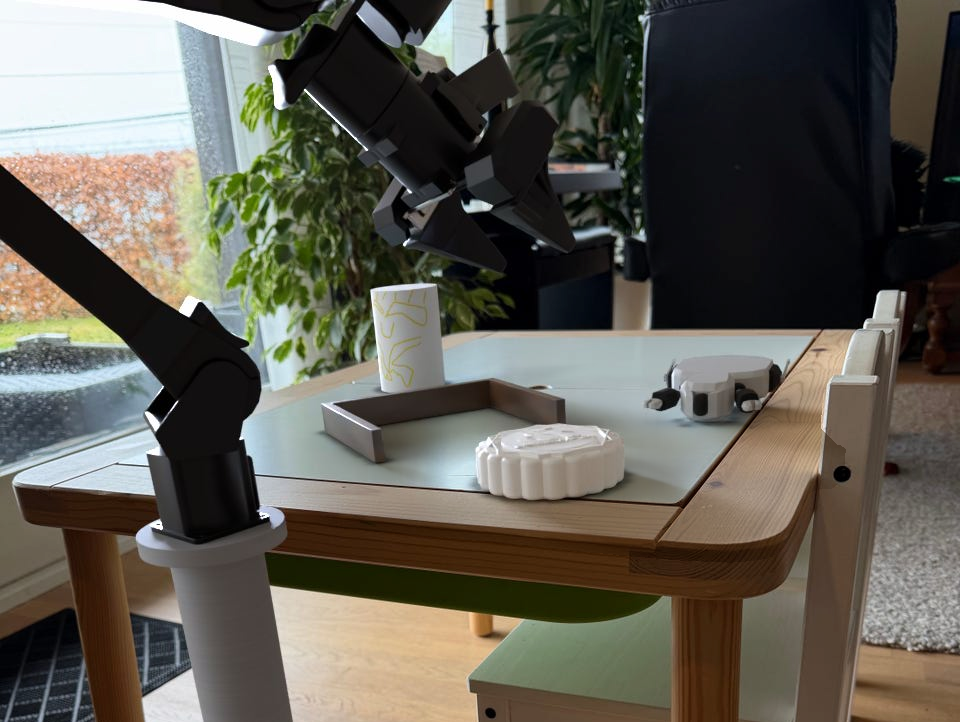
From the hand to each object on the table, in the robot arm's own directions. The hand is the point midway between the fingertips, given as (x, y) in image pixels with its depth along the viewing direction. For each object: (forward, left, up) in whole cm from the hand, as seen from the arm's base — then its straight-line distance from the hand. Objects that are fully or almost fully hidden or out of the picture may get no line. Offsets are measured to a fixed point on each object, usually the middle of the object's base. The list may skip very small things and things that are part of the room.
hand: (536, 258), depth 75 cm
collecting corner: (+8, +20, -17) cm, 27 cm away
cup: (+25, +42, -17) cm, 51 cm away
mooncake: (-1, -1, -17) cm, 17 cm away
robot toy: (+27, 0, -17) cm, 32 cm away
